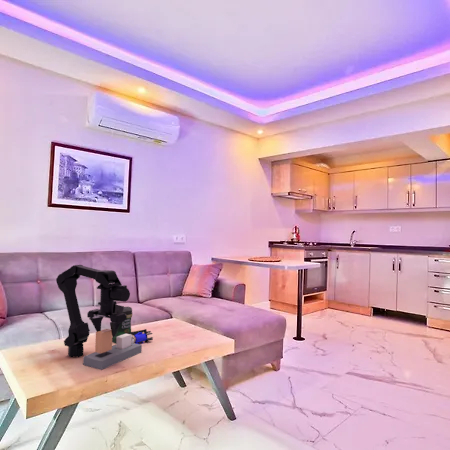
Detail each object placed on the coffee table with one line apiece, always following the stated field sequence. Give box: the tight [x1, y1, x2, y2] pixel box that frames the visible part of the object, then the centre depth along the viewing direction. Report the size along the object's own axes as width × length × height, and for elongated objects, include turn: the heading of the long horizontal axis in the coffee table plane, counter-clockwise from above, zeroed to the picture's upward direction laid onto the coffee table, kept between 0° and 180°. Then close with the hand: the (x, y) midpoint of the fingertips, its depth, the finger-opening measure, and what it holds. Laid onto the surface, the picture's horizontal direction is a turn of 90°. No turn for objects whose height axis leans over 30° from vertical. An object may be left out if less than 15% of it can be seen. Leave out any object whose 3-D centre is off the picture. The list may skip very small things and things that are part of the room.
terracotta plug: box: [94, 328, 113, 353], centre depth 146 cm, size 4×6×8 cm, turn 152°
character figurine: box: [126, 328, 154, 345], centre depth 173 cm, size 8×7×15 cm
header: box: [82, 343, 143, 371], centre depth 151 cm, size 11×24×4 cm, turn 152°
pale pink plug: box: [115, 334, 131, 350], centre depth 157 cm, size 4×6×8 cm, turn 152°
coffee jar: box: [112, 306, 133, 345], centre depth 176 cm, size 10×8×19 cm
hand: (106, 335), depth 148 cm, fingers open, 9 cm apart
